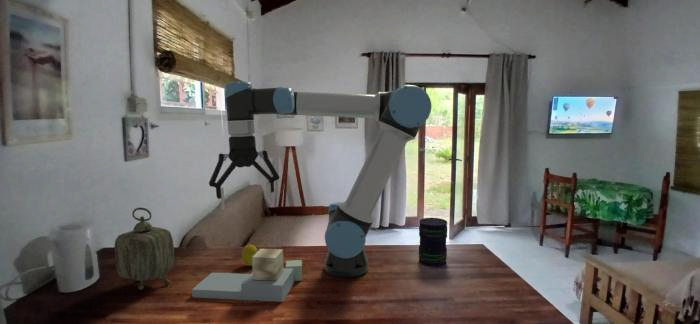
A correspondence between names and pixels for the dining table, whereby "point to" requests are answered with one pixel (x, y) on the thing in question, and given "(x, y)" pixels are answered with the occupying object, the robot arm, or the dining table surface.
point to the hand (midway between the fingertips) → (247, 206)
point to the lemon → (248, 254)
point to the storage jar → (432, 242)
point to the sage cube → (295, 268)
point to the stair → (244, 287)
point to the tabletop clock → (144, 252)
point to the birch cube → (267, 264)
